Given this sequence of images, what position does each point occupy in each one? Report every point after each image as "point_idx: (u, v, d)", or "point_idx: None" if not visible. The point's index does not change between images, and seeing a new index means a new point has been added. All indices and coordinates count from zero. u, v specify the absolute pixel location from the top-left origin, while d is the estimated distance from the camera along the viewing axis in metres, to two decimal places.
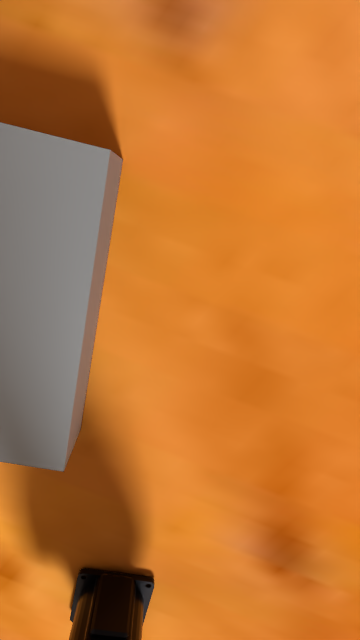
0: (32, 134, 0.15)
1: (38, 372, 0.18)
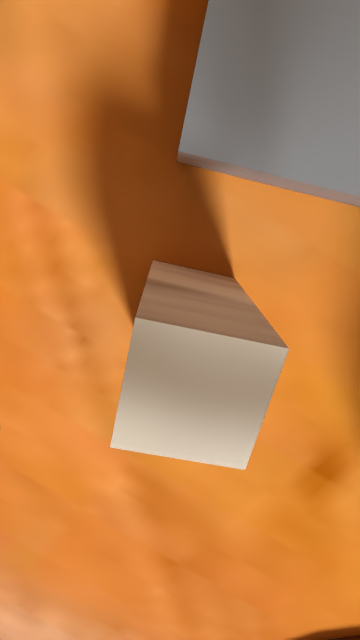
0: None
1: None
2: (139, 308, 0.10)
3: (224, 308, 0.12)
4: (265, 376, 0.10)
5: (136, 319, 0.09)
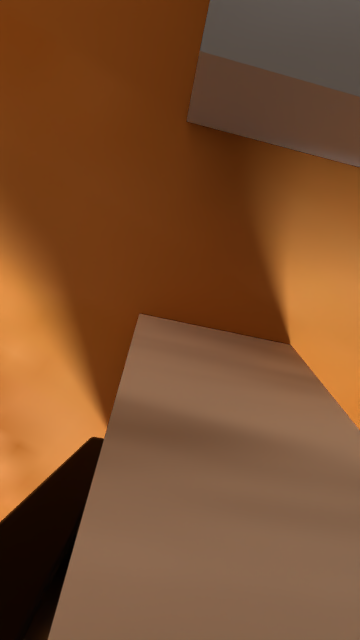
0: None
1: None
2: None
3: (349, 549, 0.04)
4: None
5: None
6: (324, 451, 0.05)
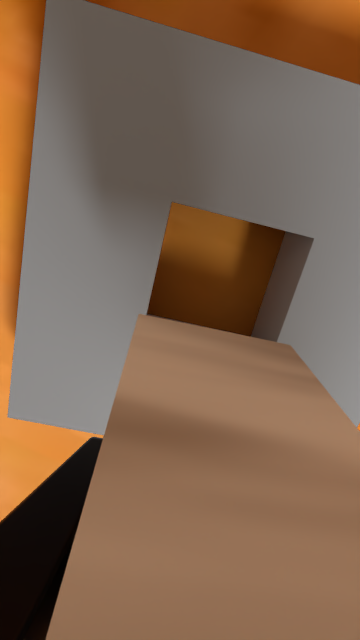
0: None
1: (342, 370, 0.17)
2: None
3: (348, 550, 0.04)
4: None
5: None
6: (323, 451, 0.05)
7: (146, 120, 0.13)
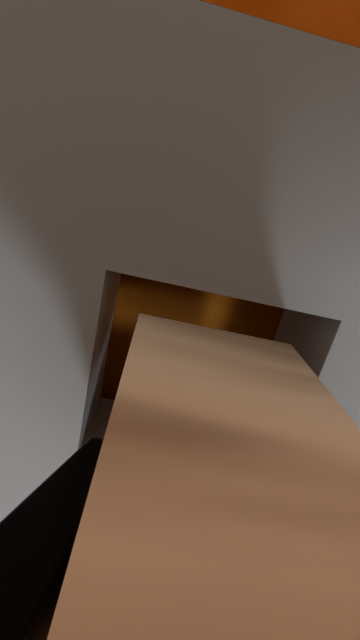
0: None
1: None
2: None
3: (350, 549, 0.04)
4: None
5: None
6: (325, 450, 0.05)
7: (51, 137, 0.08)
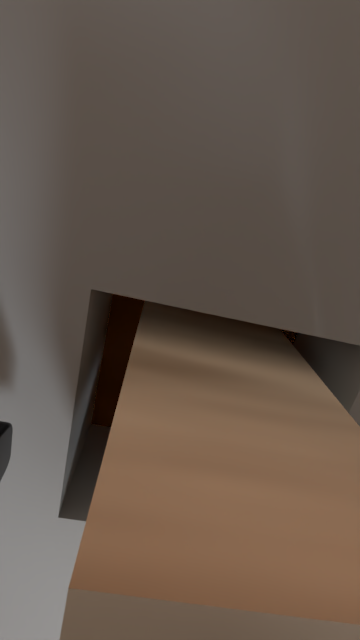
0: None
1: None
2: (95, 504, 0.04)
3: (293, 432, 0.06)
4: None
5: (73, 591, 0.03)
6: (287, 385, 0.07)
7: (19, 124, 0.06)
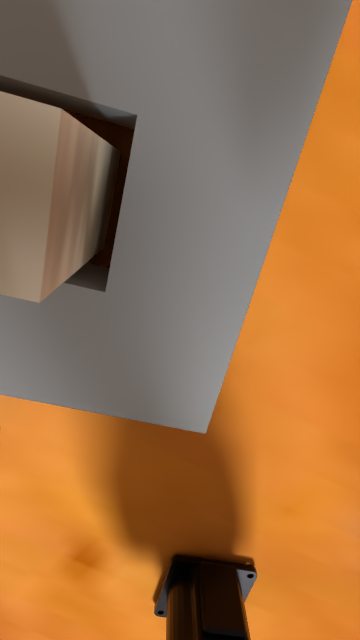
0: None
1: (199, 298, 0.14)
2: None
3: None
4: (37, 154, 0.07)
5: None
6: None
7: None
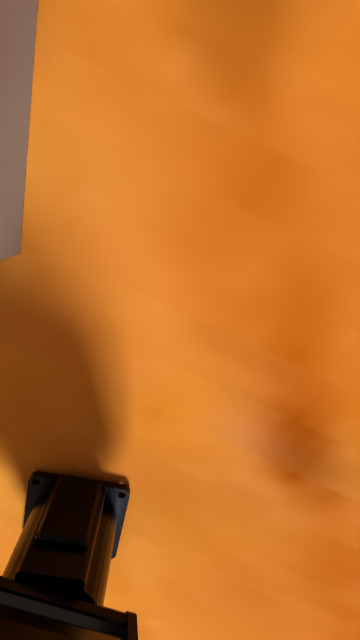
0: None
1: None
2: None
3: None
4: None
5: None
6: None
7: None
